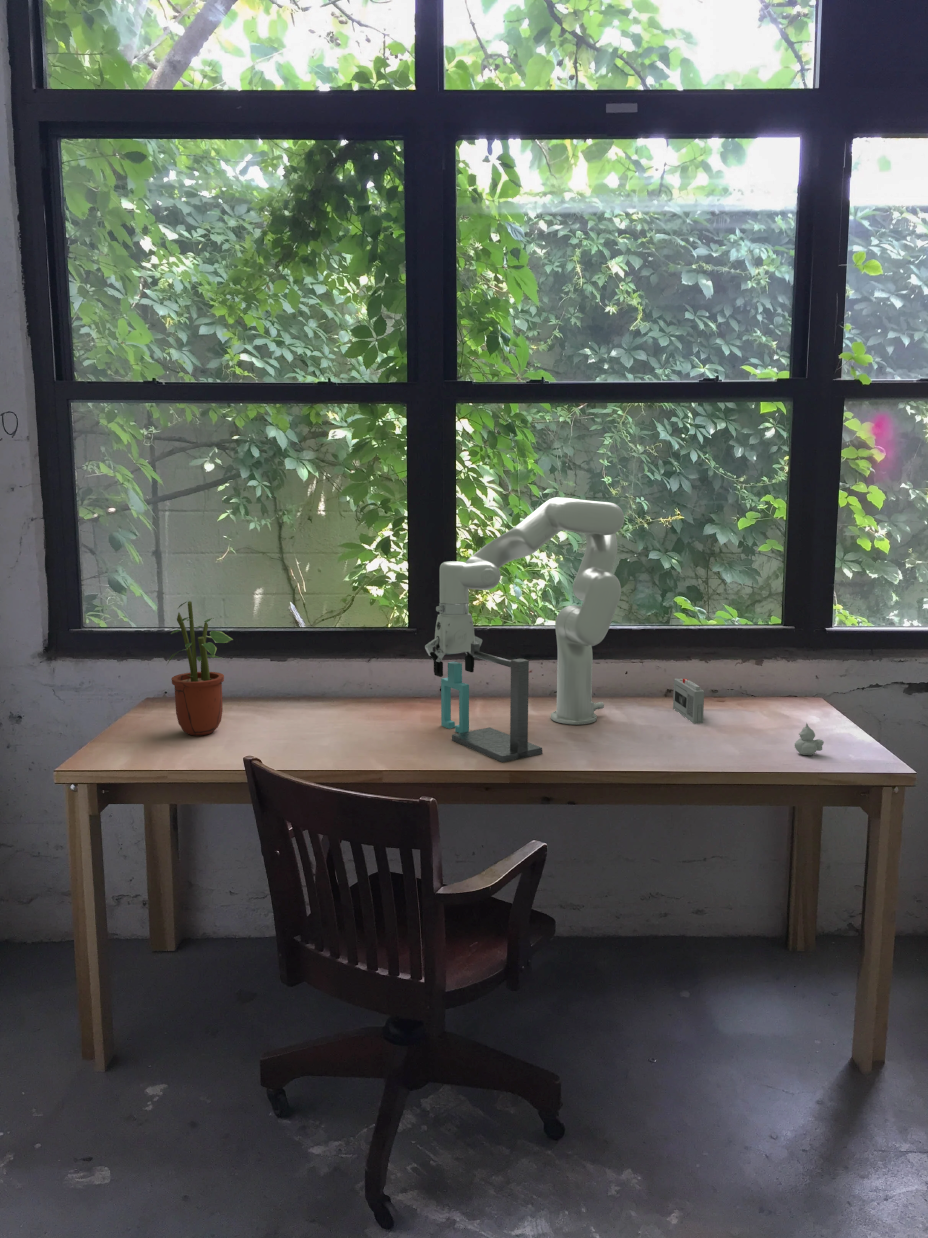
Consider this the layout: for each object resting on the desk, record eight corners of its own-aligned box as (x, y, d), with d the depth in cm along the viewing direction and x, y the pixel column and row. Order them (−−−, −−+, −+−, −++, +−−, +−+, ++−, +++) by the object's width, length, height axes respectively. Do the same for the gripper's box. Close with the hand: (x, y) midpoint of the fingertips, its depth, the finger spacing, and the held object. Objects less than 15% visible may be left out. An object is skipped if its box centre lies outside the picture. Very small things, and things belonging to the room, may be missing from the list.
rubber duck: (792, 750, 221) (793, 719, 220) (820, 752, 220) (822, 720, 219) (796, 757, 216) (798, 725, 215) (825, 758, 215) (827, 726, 214)
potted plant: (211, 741, 228) (205, 604, 223) (155, 737, 231) (148, 602, 226) (242, 723, 245) (237, 595, 240) (189, 719, 248) (183, 593, 243)
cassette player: (672, 709, 261) (674, 675, 259) (681, 708, 261) (683, 675, 259) (693, 723, 245) (694, 687, 244) (702, 723, 246) (704, 687, 244)
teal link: (469, 733, 236) (469, 665, 233) (461, 734, 234) (461, 666, 232) (448, 724, 244) (448, 659, 241) (440, 726, 242) (440, 660, 240)
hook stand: (490, 732, 236) (490, 640, 232) (542, 753, 218) (543, 653, 215) (451, 740, 229) (451, 645, 225) (502, 762, 212) (503, 659, 208)
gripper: (433, 613, 226) (433, 680, 229) (489, 608, 236) (489, 672, 239) (418, 610, 232) (418, 675, 235) (473, 604, 242) (473, 667, 245)
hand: (454, 673), depth 237 cm, fingers open, 9 cm apart
